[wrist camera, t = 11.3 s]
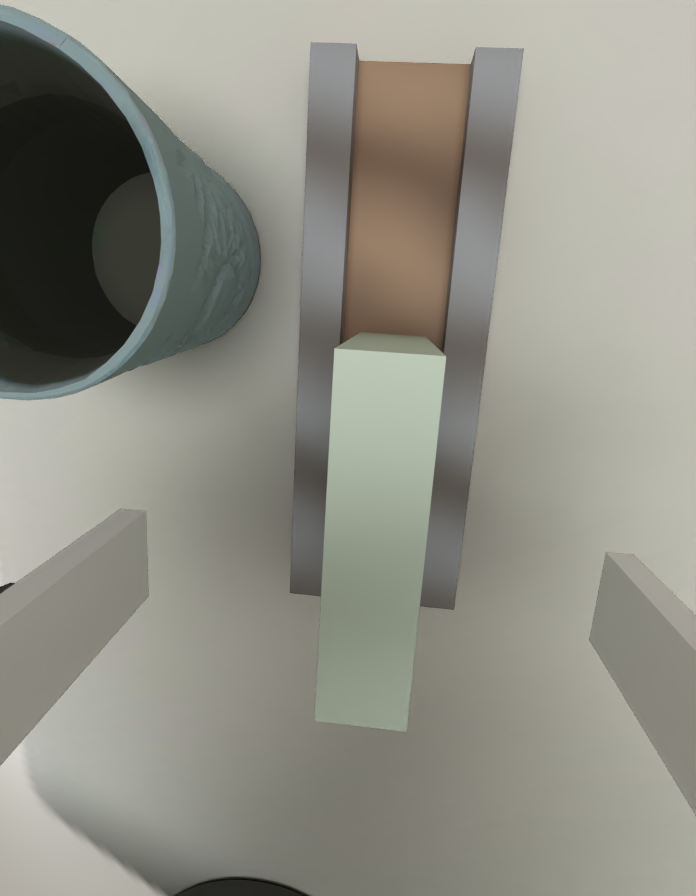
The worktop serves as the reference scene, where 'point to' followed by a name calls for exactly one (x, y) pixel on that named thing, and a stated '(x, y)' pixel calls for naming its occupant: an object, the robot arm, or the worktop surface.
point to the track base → (400, 260)
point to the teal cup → (103, 224)
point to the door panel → (376, 525)
